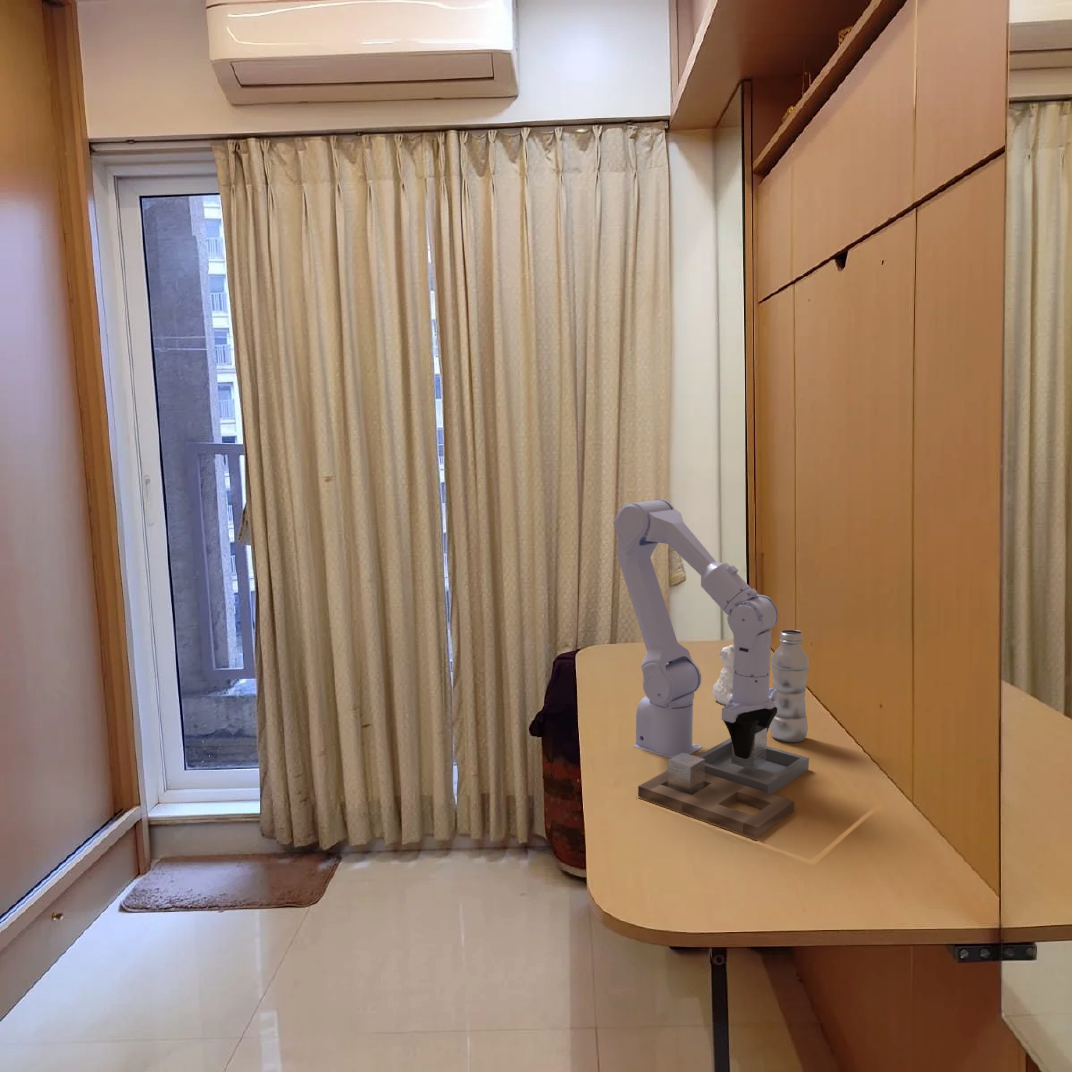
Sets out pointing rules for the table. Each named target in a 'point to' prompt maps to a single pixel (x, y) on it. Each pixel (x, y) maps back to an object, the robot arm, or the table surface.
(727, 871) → the table surface
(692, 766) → the block
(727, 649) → the sitting furry creature
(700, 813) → the wooden board with recesses
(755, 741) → the block
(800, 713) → the plastic bottle
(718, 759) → the tray
